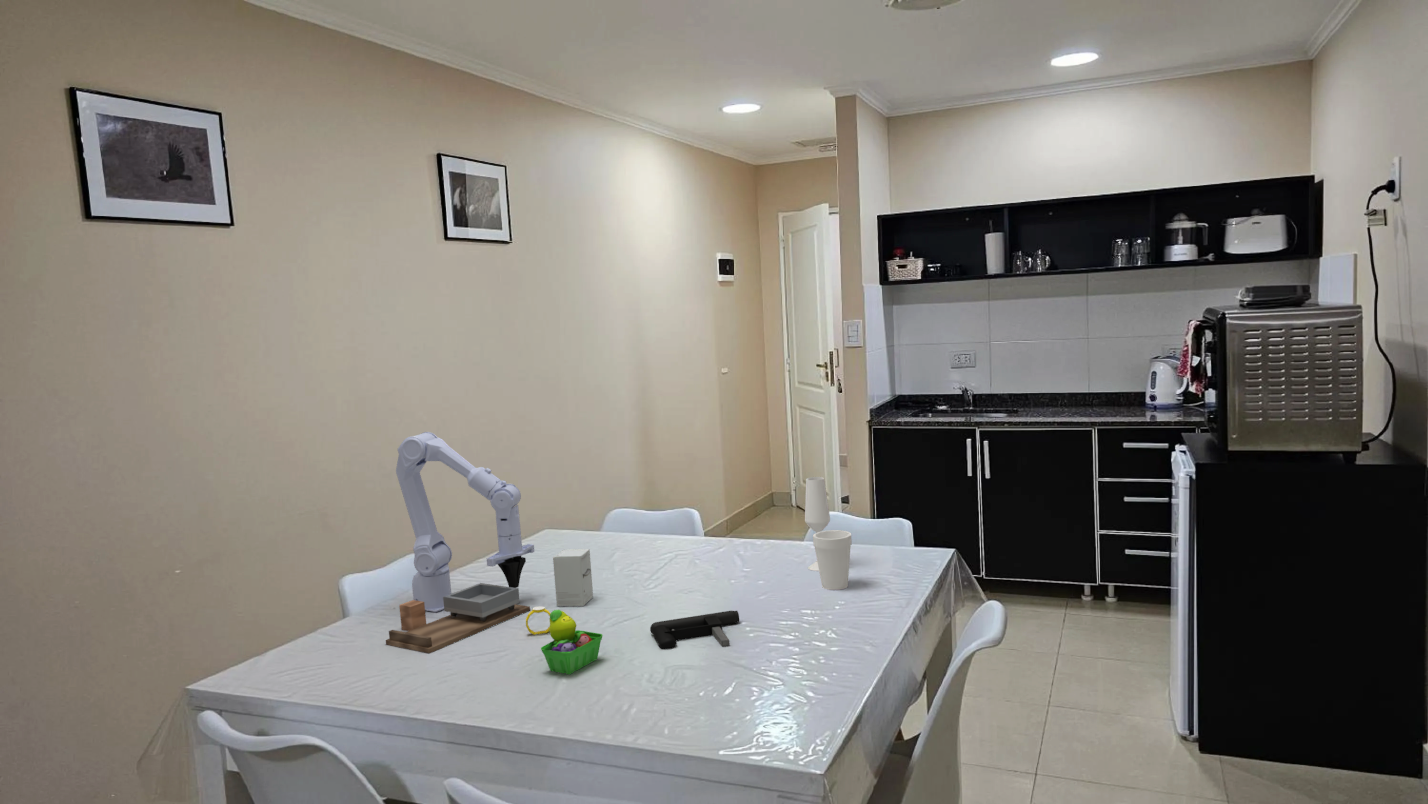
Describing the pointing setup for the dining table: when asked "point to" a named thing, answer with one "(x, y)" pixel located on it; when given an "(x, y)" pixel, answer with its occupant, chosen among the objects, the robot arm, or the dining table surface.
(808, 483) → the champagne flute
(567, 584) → the supplement box
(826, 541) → the foam cup
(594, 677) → the dining table surface
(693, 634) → the door handle
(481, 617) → the tray
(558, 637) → the fruit basket
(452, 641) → the board
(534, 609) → the watch
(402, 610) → the part block
